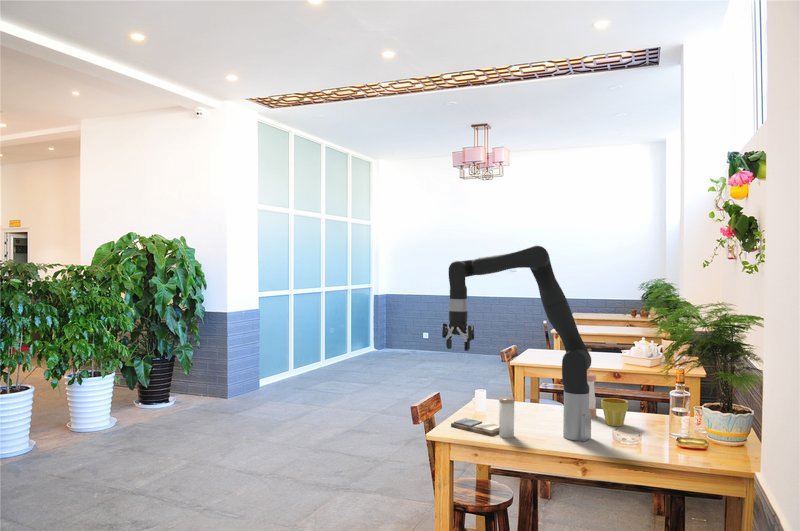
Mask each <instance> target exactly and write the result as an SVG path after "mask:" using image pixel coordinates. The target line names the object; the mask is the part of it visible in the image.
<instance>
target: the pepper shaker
mask: <svg viewBox="0 0 800 531" xmlns="http://www.w3.org/2000/svg"><path fill="white" fill-rule="evenodd" d="M595 381H597V376H596V375H595V374H594V373H593V372H592V373H591V372H590V371H589V370H587V383H588V385H589V412H591V419H592V418H597V407H596V402H597V400H596V394H595Z"/></svg>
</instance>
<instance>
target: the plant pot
mask: <svg viewBox="0 0 800 531" xmlns="http://www.w3.org/2000/svg"><path fill="white" fill-rule="evenodd" d="M600 401H601V402H600V405H601V407H600V408H601V409H602V411H603V415H604V419H605V424H606V425H607V426H611V427H623V426H624V424H625V418H626V414H627V411H628V410H629V400H626V399H623V398H617V397H616V398H615V397H606V398H605V397H604V398H602V399H601V400H600Z"/></svg>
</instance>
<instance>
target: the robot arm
mask: <svg viewBox="0 0 800 531" xmlns="http://www.w3.org/2000/svg"><path fill="white" fill-rule="evenodd" d="M521 268H522V269H523V268H524V269H525V268H529V270H530V271H531V273H532V275H533V277H534V279H535V282H536V284H537V287H538V290H539V291H538V292H539V297H540V300H541V303H542V306H543V309H544V313H545V314H546V317H547V320H548V322H549V323H550V325H551V327H552V328H553V329H554V330H555V332H556V333H557V335H558V336H559V338H560V340H561V342H562V344H563V347H564V350H565V354H564V355H562V356H563V357H562V361H561V380H562V385H563V386H562V387H563V423H562V424H563V426H562V427H563V430H562V431H563V433H562V434H563V438H565V439H567V440H571V441H581V442H585V441H587V440H589V439H591V438H592V418H591V412H589V385H588V383H587V371H589V369H590V368H591V366H592V357H591V356H592V355H591V354H590V352H589V350H588V348H587V347H586V344H585V343H584V341H583V339H582V337H581V335H580V332H579V329H578V326H577V324H576V321H575V318H574V315H573V314H572V310H571V308H570V305H569V302H568V299H567V297H566V295H565V293H564V291H563V289H562V287H561V286H560V284H559V282H558V281H557V279H556V278H557V277H555V272H554V270H553V267H552V262H551V259H550V255H549V252H548V250H547V249H546V248H545V247H543V246H540V245H533V246H530V247H528V248H527V247H526V248H524V249H521V250H517V251H514V252H508V253H503V254H496V255H495V254H494V255H488V256H482V257H481V256H480V257H476V258H474V259H467V260H466V259H465V260H455V261H452V262H451V263H450V264H449V267H448V282H449V301H448V302H449V303H448V322H444V323H443V324H442V333H441V336H442V338H444V339H445V340H446V342H445V343H446V345H445V346H446V348H447V350H451V349H452V348H453V347H452V345H453V344H452V338H453V337H454V336H455V335H456V336H460V337H461V338H463V340H464V343H463V344H464V345H463V346H464V348H463V350H464V352H468V351H469V350H470V348H471V346H470V345H471V341H474V340H475V327H474V325H472V324H471V325H468V324H467V323H468V308H469V307H468V287H467V285H466V278H468V277H472V276H473V277H474V276H482V275H483V276H484V275H490V274H496V273H500V272H503V271H508V270H511V269H521Z"/></svg>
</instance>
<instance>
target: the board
mask: <svg viewBox="0 0 800 531" xmlns="http://www.w3.org/2000/svg"><path fill="white" fill-rule="evenodd" d="M450 427H452V428H454V429H455V428H456V429H460V430H465V431H469V432H473V433H477V434H482V435H486V436H491V437H493V436H495V435H497V434H498V435H499V424H495V423H491V422H490V423H489V422H487V421H485V422H483V421H481V420H480V421H479V420H476V419H471V418H467V417H463V418H460V419H457V420H456V421H453V422H451V423H450Z"/></svg>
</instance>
